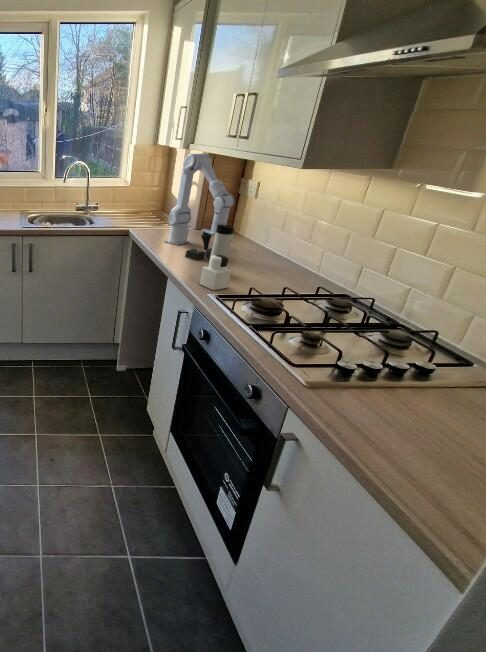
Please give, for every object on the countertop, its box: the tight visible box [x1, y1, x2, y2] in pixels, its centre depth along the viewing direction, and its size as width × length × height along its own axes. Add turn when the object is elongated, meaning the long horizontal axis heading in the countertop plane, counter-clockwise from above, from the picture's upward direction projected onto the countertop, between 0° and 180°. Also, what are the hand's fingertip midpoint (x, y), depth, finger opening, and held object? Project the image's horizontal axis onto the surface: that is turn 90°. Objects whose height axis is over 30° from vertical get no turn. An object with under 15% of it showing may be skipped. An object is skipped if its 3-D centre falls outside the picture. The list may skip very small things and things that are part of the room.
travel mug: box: [211, 224, 235, 258], centre depth 169 cm, size 6×7×20 cm
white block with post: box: [199, 255, 232, 291], centre depth 156 cm, size 7×7×12 cm
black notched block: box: [185, 248, 206, 261], centre depth 190 cm, size 6×6×3 cm
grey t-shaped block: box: [204, 247, 212, 259], centre depth 191 cm, size 6×5×3 cm
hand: (213, 251), depth 191 cm, fingers open, 7 cm apart
